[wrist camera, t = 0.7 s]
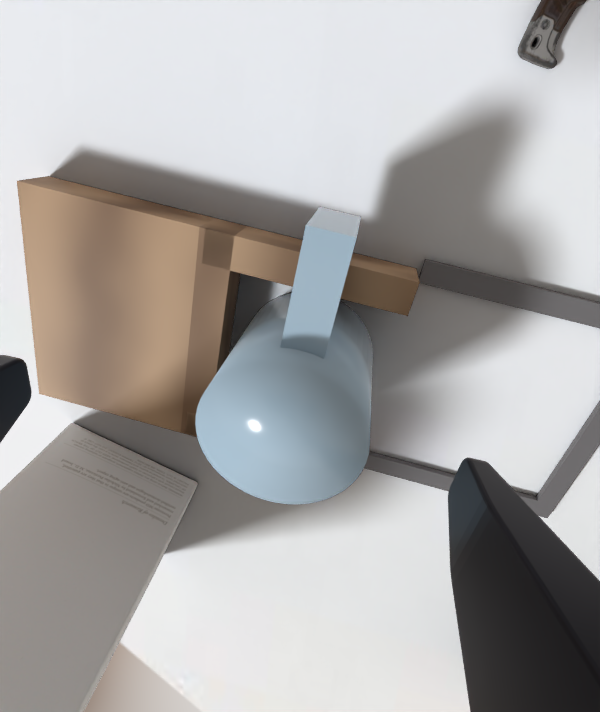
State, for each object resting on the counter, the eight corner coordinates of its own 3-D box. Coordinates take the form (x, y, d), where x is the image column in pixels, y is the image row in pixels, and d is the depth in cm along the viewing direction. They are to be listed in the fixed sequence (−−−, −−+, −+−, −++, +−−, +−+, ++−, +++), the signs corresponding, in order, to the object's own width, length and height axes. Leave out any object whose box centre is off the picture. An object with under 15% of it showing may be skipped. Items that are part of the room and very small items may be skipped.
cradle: (416, 268, 19) (419, 282, 18) (351, 453, 25) (349, 478, 23) (48, 176, 20) (16, 181, 18) (62, 375, 25) (39, 393, 24)
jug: (353, 419, 24) (344, 522, 18) (237, 388, 24) (188, 478, 18) (419, 220, 18) (439, 266, 12) (271, 183, 19) (218, 211, 13)
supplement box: (69, 416, 27) (-226, 691, 14) (202, 479, 28) (40, 799, 14) (47, 505, 31) (-194, 778, 18) (162, 558, 32) (9, 858, 19)
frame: (679, 322, 19) (683, 325, 18) (545, 514, 24) (547, 518, 24) (425, 258, 19) (426, 260, 19) (353, 461, 25) (353, 465, 25)
